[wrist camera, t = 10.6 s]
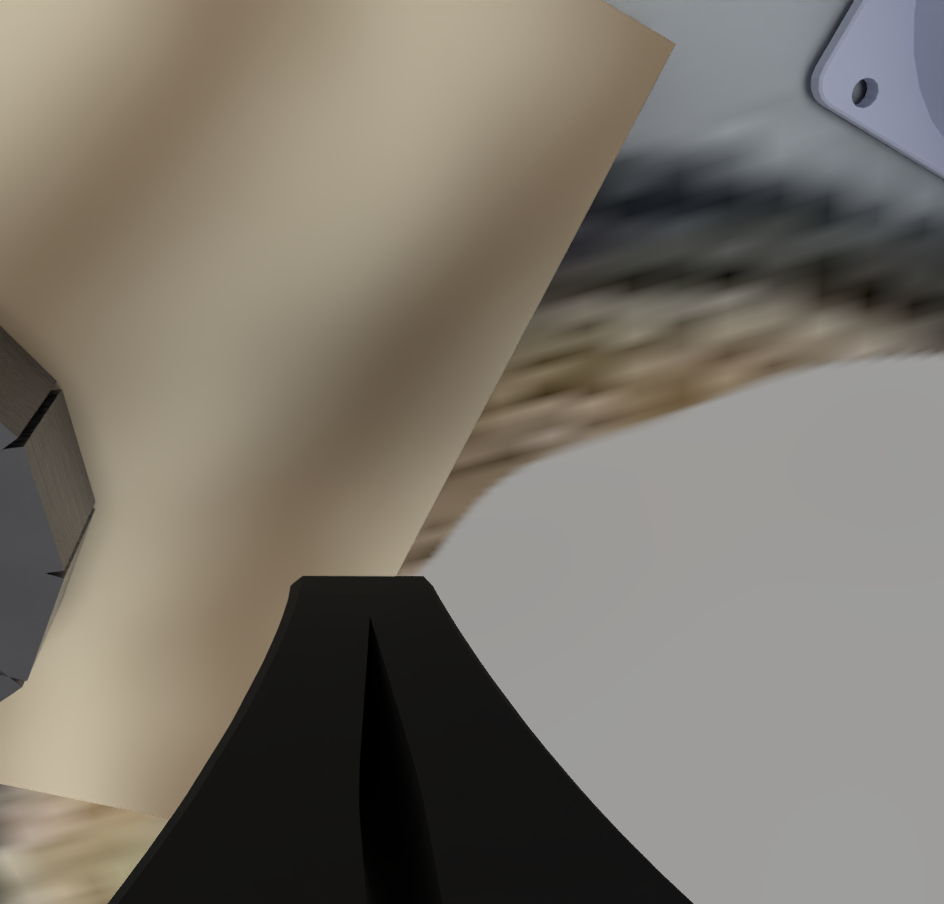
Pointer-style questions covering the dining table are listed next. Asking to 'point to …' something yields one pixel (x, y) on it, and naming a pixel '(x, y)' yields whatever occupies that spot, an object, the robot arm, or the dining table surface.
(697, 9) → the dining table surface
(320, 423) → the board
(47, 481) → the grey faceted ring
